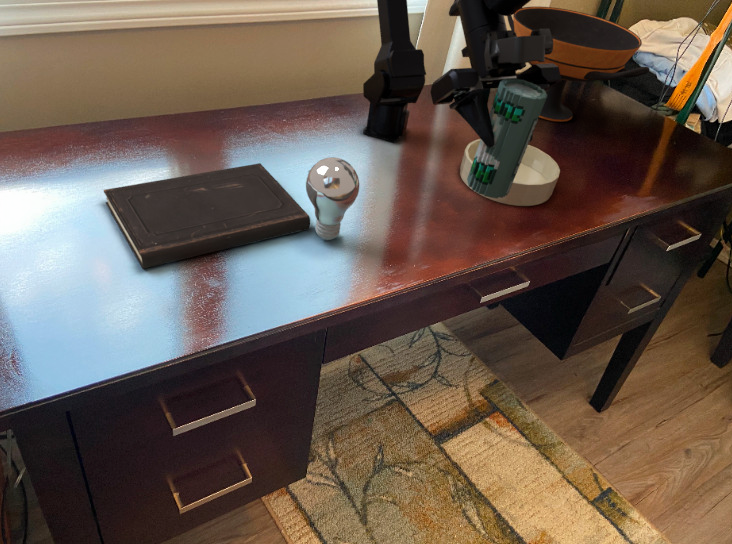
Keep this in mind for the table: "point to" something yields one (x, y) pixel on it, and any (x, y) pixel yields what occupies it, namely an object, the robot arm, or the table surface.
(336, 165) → the light bulb
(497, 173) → the can
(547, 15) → the footed terracotta bowl
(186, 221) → the hardcover book
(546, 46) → the robot arm
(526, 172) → the pan
